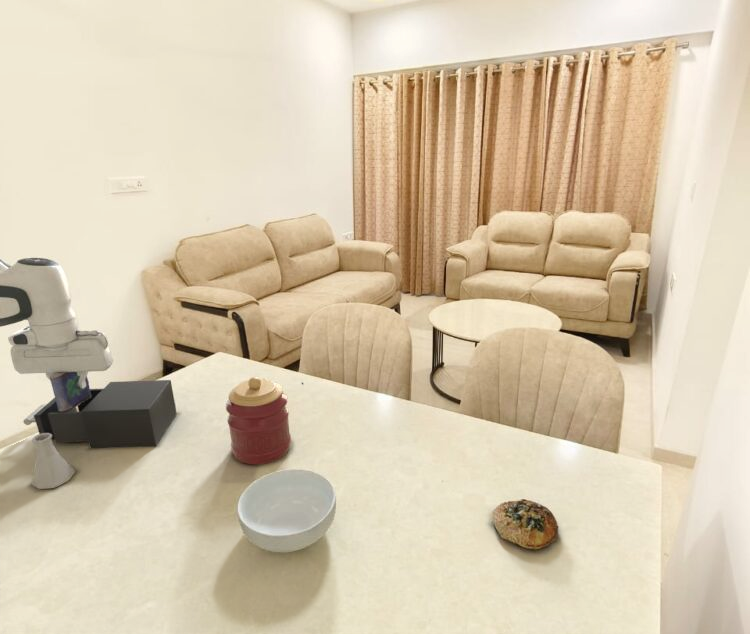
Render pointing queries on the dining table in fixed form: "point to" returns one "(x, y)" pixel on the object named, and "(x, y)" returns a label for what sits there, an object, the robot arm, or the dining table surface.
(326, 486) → the cereal bowl
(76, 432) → the open drawer
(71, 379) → the flask
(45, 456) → the flask
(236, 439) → the kitchen canister
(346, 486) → the dining table surface
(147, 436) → the dark grey box
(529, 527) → the bread roll
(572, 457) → the dining table surface
